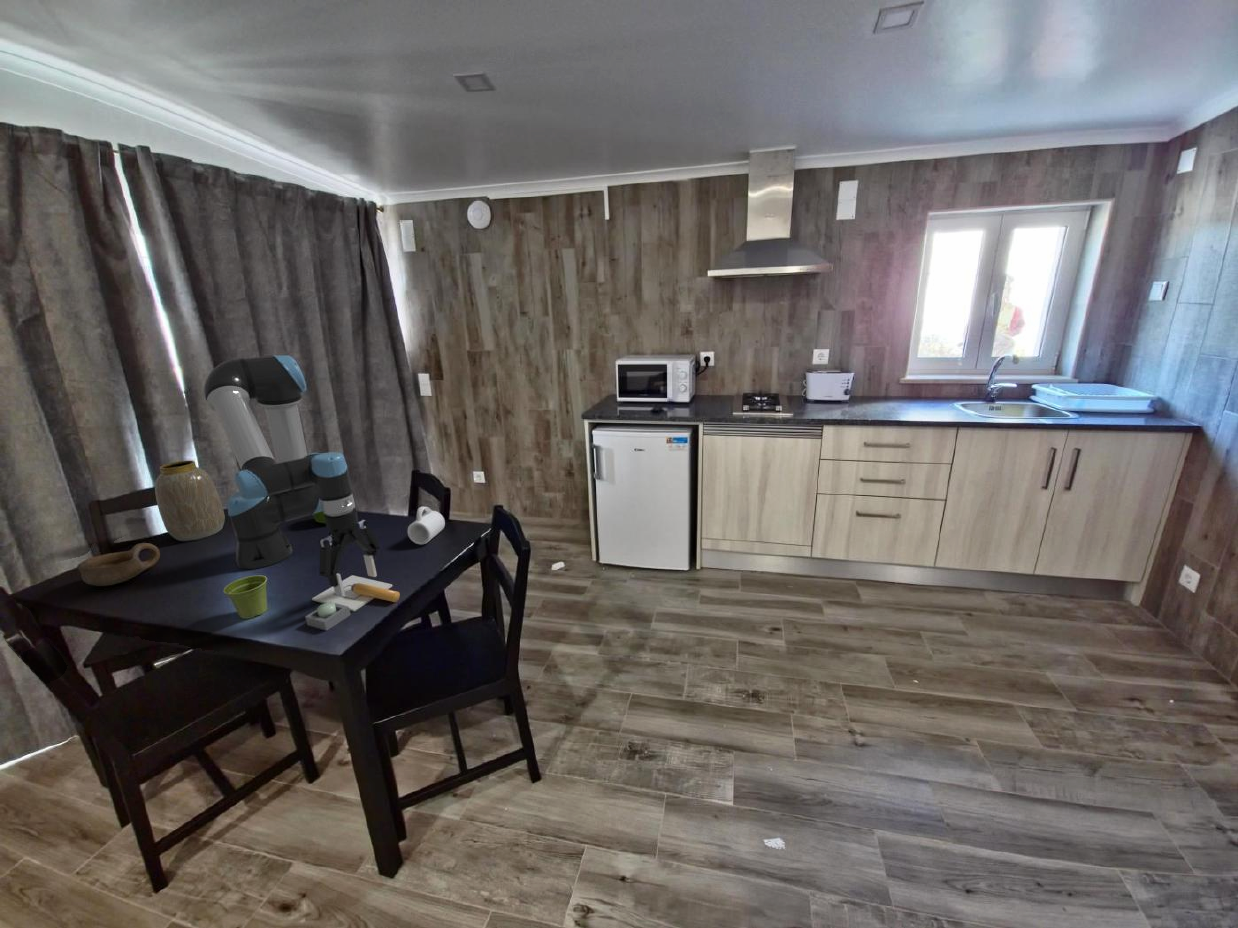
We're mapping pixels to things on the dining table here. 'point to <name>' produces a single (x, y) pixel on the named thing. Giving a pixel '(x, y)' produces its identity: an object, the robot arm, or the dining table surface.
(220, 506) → the vase
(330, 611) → the button
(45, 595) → the dining table surface
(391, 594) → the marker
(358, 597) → the sheet
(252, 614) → the plant pot
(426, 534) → the mug
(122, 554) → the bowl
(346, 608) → the button housing
